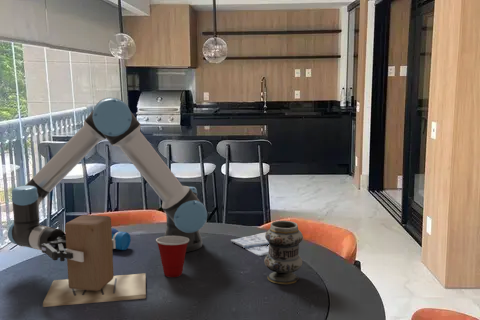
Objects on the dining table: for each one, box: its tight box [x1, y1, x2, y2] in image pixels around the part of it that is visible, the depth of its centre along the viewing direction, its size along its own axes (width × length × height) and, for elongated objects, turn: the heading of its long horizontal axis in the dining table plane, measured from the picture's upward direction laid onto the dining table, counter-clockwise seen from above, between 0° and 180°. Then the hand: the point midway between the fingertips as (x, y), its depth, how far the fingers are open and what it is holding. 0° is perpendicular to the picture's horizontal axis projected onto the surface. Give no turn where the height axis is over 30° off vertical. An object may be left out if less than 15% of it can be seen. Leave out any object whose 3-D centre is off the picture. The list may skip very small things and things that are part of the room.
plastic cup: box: [155, 235, 189, 278], centre depth 156 cm, size 11×11×12 cm
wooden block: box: [64, 214, 115, 291], centre depth 141 cm, size 10×10×20 cm
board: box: [42, 272, 147, 308], centre depth 144 cm, size 28×16×1 cm, turn 101°
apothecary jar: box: [263, 220, 304, 285], centre depth 151 cm, size 12×12×18 cm
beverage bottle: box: [111, 227, 132, 251], centre depth 183 cm, size 8×8×20 cm
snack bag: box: [230, 231, 269, 257], centre depth 185 cm, size 19×20×2 cm
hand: (99, 250), depth 139 cm, fingers closed on wooden block, 12 cm apart
